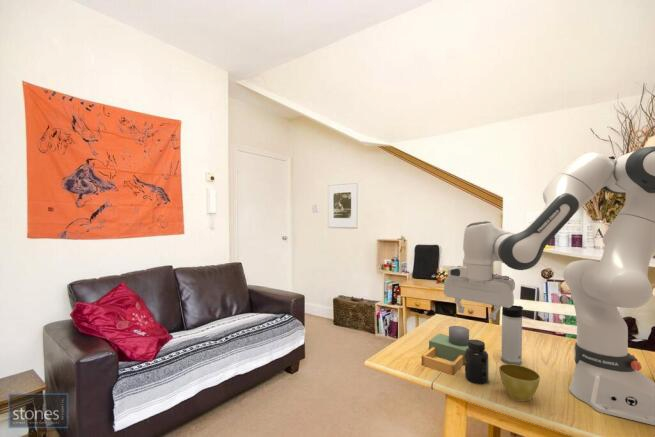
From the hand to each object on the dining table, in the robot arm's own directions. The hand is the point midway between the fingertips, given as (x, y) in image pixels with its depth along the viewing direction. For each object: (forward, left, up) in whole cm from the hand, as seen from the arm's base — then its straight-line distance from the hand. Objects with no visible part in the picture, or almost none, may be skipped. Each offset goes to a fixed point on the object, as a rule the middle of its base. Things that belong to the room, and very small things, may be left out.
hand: (476, 315), depth 100 cm
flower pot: (-12, +2, -21) cm, 24 cm away
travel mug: (-6, -22, -21) cm, 31 cm away
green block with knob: (+12, -13, -20) cm, 27 cm away
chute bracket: (+12, -4, -20) cm, 24 cm away
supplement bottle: (0, 0, -21) cm, 21 cm away
